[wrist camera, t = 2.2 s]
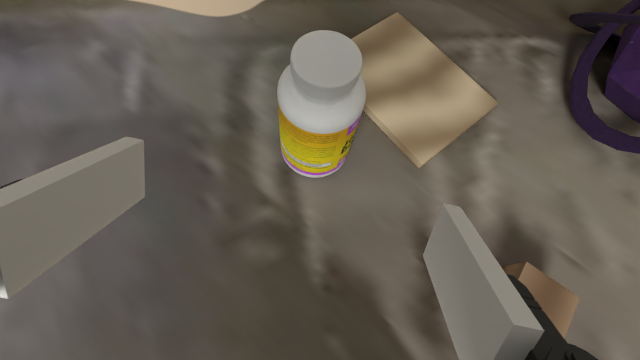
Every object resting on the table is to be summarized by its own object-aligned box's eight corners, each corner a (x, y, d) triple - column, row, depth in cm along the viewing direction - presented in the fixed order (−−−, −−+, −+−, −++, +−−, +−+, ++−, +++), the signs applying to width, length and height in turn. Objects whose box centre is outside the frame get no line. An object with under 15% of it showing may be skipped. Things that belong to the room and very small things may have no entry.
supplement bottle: (342, 185, 32) (371, 110, 20) (274, 173, 32) (263, 90, 20) (351, 126, 34) (382, 28, 22) (288, 114, 34) (285, 10, 22)
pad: (318, 63, 37) (319, 57, 36) (395, 18, 40) (397, 11, 39) (418, 168, 33) (422, 164, 32) (493, 108, 36) (498, 103, 36)
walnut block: (472, 311, 29) (503, 311, 24) (494, 268, 30) (526, 261, 26) (519, 345, 28) (559, 351, 24) (539, 299, 29) (580, 297, 25)
